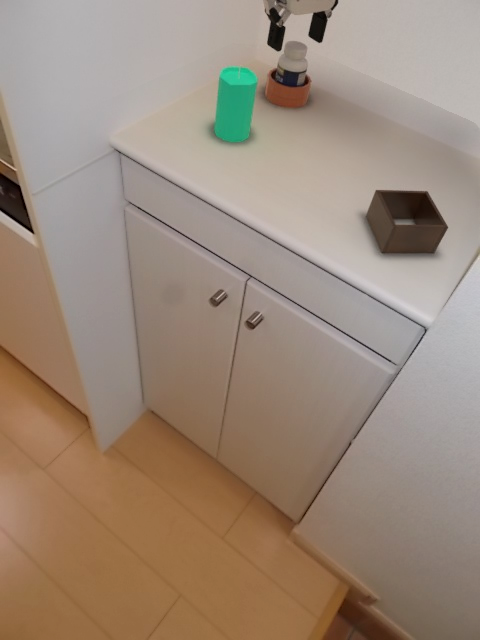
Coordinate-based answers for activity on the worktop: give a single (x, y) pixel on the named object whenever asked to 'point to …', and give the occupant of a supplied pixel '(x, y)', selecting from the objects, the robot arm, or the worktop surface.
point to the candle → (235, 103)
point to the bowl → (286, 92)
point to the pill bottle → (292, 65)
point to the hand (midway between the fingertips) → (294, 43)
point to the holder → (405, 207)
